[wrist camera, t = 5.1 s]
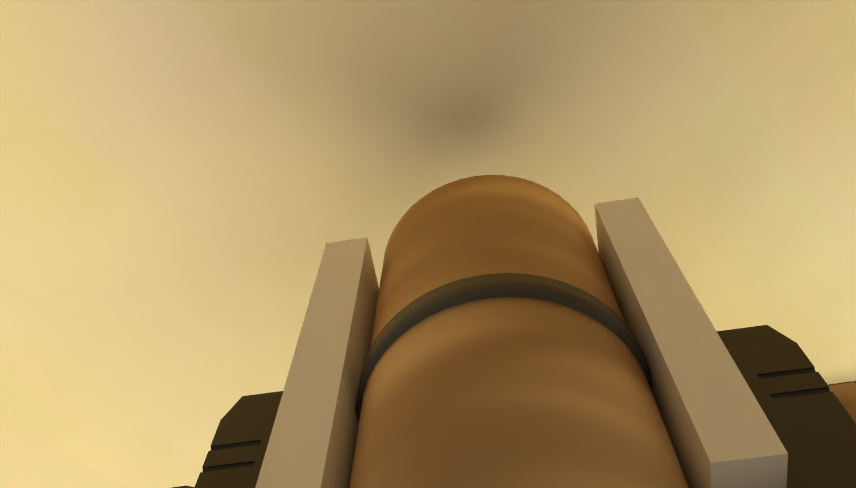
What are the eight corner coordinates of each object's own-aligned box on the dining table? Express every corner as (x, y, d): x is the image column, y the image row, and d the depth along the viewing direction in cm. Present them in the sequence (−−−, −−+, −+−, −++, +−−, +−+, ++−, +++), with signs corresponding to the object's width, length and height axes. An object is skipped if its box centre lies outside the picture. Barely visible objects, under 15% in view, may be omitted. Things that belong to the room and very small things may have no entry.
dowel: (592, 154, 14) (885, 737, 5) (609, 352, 15) (839, 1049, 6) (358, 189, 14) (201, 792, 5) (400, 379, 16) (341, 1072, 7)
